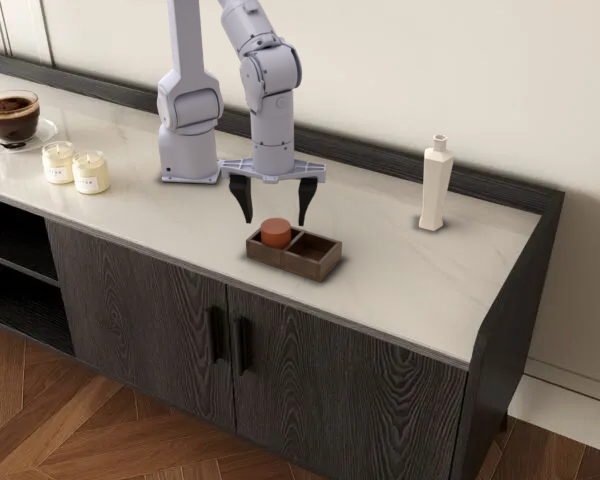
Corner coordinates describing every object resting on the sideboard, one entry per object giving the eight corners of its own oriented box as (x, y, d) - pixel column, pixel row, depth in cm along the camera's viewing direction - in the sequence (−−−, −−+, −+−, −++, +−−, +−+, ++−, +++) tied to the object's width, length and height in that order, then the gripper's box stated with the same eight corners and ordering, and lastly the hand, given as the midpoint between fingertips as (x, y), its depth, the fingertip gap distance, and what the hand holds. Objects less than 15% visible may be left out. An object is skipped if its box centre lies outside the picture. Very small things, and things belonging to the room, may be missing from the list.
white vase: (427, 212, 123) (436, 127, 114) (449, 223, 120) (460, 136, 111) (409, 223, 120) (417, 137, 111) (431, 234, 118) (441, 147, 109)
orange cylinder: (259, 255, 113) (258, 233, 110) (264, 238, 116) (262, 216, 114) (289, 257, 112) (288, 234, 110) (292, 240, 116) (292, 218, 113)
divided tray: (246, 257, 114) (245, 240, 112) (270, 235, 118) (269, 218, 116) (320, 282, 109) (320, 265, 107) (341, 258, 113) (342, 241, 111)
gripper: (214, 148, 100) (221, 233, 109) (324, 152, 99) (322, 239, 108) (223, 124, 106) (230, 207, 114) (328, 128, 104) (326, 212, 113)
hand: (275, 221), depth 111 cm, fingers open, 7 cm apart
